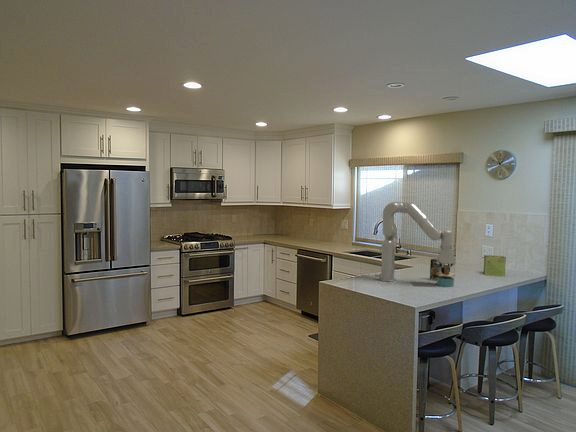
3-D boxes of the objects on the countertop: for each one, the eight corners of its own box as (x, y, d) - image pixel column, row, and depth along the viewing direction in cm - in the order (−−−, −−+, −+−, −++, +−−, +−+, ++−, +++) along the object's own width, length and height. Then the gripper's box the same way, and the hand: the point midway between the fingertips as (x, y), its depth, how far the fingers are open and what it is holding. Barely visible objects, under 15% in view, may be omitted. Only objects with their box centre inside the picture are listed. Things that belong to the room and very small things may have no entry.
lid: (438, 276, 307) (438, 266, 307) (433, 272, 320) (434, 263, 320) (457, 277, 306) (457, 267, 306) (452, 273, 319) (452, 264, 319)
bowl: (439, 287, 309) (439, 278, 308) (435, 284, 320) (435, 275, 319) (455, 287, 308) (455, 279, 307) (450, 284, 319) (451, 276, 318)
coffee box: (429, 280, 334) (430, 259, 333) (433, 279, 338) (434, 258, 337) (440, 282, 327) (440, 260, 326) (444, 281, 331) (445, 260, 330)
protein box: (505, 276, 353) (506, 257, 352) (484, 275, 358) (485, 256, 357) (503, 274, 362) (504, 255, 362) (483, 273, 367) (484, 254, 367)
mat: (414, 287, 308) (414, 286, 308) (409, 282, 323) (409, 281, 323) (435, 287, 307) (435, 287, 307) (430, 283, 322) (430, 282, 322)
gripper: (436, 247, 309) (435, 273, 310) (459, 248, 308) (458, 274, 309) (433, 246, 317) (432, 271, 318) (456, 247, 315) (455, 272, 316)
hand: (445, 272), depth 313 cm, fingers closed on lid, 3 cm apart
